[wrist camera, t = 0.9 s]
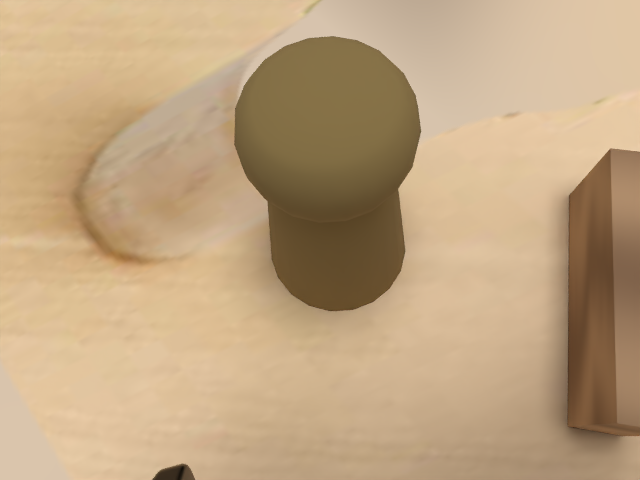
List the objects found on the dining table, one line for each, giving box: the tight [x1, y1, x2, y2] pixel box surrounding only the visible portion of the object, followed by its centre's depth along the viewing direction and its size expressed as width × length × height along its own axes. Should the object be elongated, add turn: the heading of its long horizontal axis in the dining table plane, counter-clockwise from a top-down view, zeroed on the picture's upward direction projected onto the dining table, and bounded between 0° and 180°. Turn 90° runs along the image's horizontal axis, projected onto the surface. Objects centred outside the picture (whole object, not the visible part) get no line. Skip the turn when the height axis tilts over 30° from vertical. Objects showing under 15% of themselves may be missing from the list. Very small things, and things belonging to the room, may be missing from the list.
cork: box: [234, 36, 421, 311], centre depth 18 cm, size 6×6×11 cm
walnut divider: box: [568, 148, 640, 436], centre depth 19 cm, size 10×2×4 cm, turn 170°
